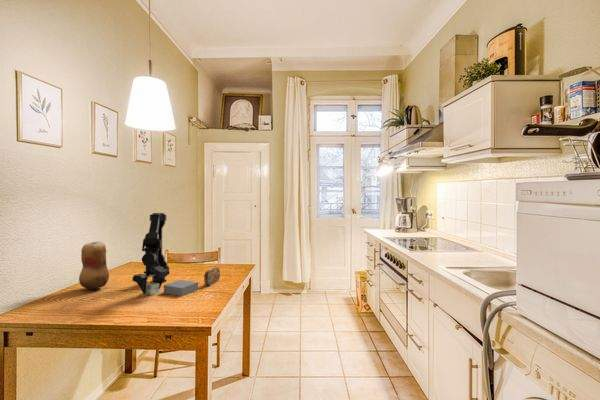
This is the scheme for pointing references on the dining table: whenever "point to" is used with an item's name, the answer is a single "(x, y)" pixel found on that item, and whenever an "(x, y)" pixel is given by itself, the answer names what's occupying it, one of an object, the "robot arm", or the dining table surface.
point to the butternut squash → (94, 266)
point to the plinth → (180, 287)
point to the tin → (211, 276)
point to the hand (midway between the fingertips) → (151, 291)
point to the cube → (152, 288)
